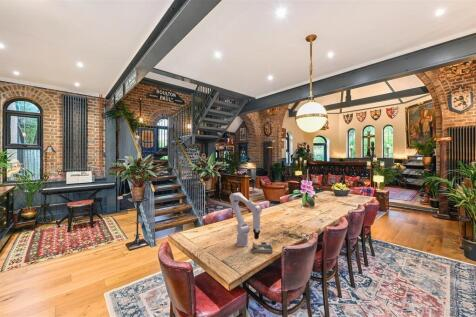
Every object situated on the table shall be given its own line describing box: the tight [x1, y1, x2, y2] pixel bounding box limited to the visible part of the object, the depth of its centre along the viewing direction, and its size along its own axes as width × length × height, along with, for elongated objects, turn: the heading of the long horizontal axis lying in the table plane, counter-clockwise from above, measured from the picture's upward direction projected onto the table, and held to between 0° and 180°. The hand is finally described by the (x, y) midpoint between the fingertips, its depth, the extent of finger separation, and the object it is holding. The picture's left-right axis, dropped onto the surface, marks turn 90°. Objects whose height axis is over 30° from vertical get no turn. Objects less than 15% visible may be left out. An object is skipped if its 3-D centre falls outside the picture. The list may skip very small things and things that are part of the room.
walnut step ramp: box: [252, 242, 260, 253], centre depth 163 cm, size 6×8×5 cm
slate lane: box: [253, 242, 273, 254], centre depth 163 cm, size 14×8×4 cm, turn 88°
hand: (256, 237), depth 163 cm, fingers closed on brick-red rubber ball, 4 cm apart
